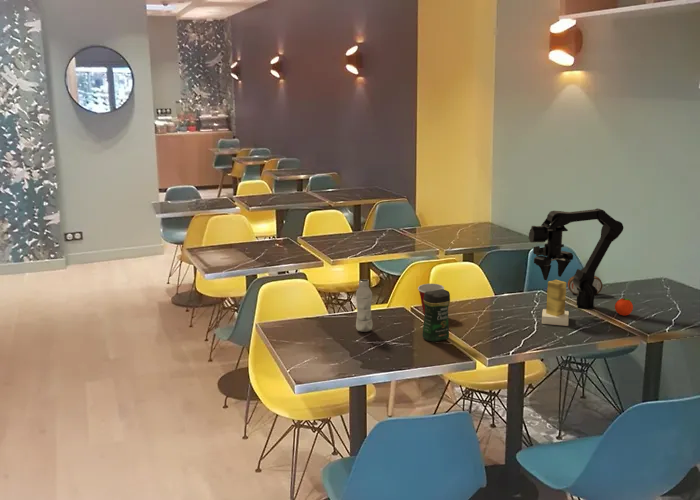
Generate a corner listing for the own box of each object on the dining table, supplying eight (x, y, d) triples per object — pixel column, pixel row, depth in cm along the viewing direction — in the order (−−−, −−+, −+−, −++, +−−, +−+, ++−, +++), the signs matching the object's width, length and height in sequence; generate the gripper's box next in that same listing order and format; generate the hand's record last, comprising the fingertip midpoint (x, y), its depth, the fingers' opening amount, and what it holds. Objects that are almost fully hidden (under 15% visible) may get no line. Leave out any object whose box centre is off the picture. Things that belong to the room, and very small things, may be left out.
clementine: (632, 312, 293) (633, 296, 292) (637, 318, 286) (638, 301, 285) (612, 312, 294) (613, 295, 292) (616, 317, 287) (618, 300, 286)
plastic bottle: (374, 329, 276) (374, 279, 271) (369, 334, 270) (369, 283, 265) (358, 327, 278) (358, 277, 274) (353, 332, 272) (353, 282, 267)
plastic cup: (413, 317, 289) (414, 289, 287) (421, 310, 299) (421, 282, 296) (440, 320, 285) (440, 291, 283) (446, 312, 295) (447, 284, 292)
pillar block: (554, 310, 287) (556, 279, 284) (564, 313, 283) (566, 282, 280) (546, 313, 284) (547, 281, 281) (556, 316, 280) (558, 284, 277)
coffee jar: (431, 343, 259) (432, 294, 255) (419, 337, 266) (419, 289, 262) (452, 339, 264) (454, 291, 260) (440, 333, 271) (441, 286, 267)
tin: (600, 293, 321) (602, 275, 320) (602, 295, 318) (603, 277, 317) (566, 292, 323) (567, 274, 321) (568, 294, 320) (569, 276, 318)
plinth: (568, 318, 287) (568, 310, 286) (568, 325, 278) (568, 318, 277) (542, 316, 290) (542, 308, 289) (541, 323, 281) (542, 316, 280)
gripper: (553, 235, 306) (551, 271, 309) (524, 241, 295) (522, 277, 298) (575, 240, 297) (572, 276, 300) (546, 245, 286) (544, 283, 290)
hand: (552, 278), depth 297 cm, fingers open, 9 cm apart
